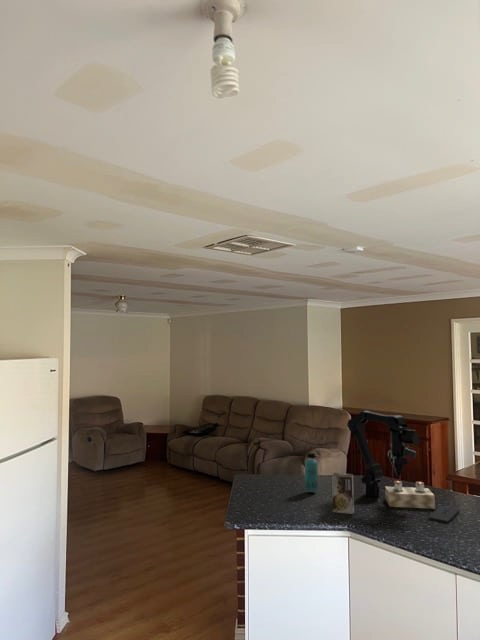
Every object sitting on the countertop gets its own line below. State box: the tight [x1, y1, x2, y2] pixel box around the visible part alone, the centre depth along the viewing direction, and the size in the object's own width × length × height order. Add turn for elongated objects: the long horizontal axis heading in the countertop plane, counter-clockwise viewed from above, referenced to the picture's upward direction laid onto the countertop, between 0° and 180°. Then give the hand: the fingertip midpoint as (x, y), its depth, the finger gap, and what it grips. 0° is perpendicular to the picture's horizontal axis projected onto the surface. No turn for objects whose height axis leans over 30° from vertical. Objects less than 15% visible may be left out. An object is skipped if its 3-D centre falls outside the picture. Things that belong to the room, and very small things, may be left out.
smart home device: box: [428, 505, 460, 524], centre depth 205 cm, size 8×2×20 cm
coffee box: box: [331, 472, 355, 515], centre depth 211 cm, size 9×6×16 cm
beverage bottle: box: [304, 452, 318, 492], centre depth 240 cm, size 6×7×20 cm
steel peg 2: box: [415, 481, 425, 493], centre depth 222 cm, size 4×4×6 cm
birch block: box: [384, 485, 436, 510], centre depth 222 cm, size 20×12×6 cm, turn 82°
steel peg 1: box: [393, 480, 403, 492], centre depth 223 cm, size 4×4×6 cm
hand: (397, 475), depth 224 cm, fingers open, 4 cm apart
